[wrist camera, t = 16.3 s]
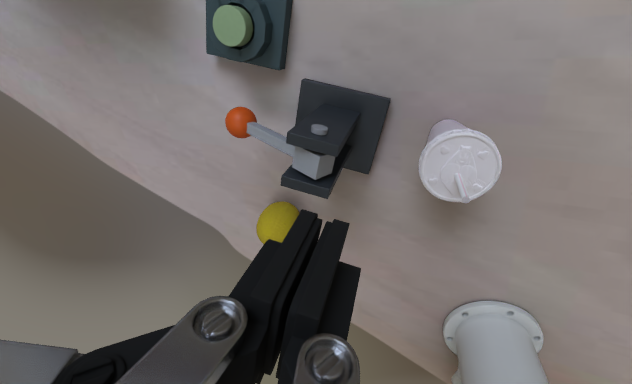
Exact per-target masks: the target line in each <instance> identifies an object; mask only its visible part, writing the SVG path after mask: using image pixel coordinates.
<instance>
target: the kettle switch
mask: <svg viewBox="0 0 632 384" xmlns="http://www.w3.org/2000/svg"><path fill="white" fill-rule="evenodd" d="M225 123H226V127H227V130H228V131H229V132H230V133H231V134H232V135H233V136H235V137H237V138H247V137H249V136H253V137H255V138H257V139H259V140H261V141H263V142H265V143H267V144H269V145H270V146H272V147H274V148H276V149H278V150H280V151H282V152H284V153H286V154H288V155H290V156H291V157H293V163H292V168H294V169H296V170H298V171H300V172H302V173H303V174H305V175H307V176H309V177H311V178H313V179H314V180H317V179H319V178H321V177H324V176H326V175H328V174H331V173H332V169H333V165H334V160H335V157H334V156H331V155H327V154H323V153H319V152H316V151H312V150H308V149H305V148H301V147H297V146H294V145H290V144H286V139H287V137H285V136H283V135H281V134H279V133H277V132H275V131H273V130H271V129H268V128H266V127H264V126H262V125H260V124H258V123H257V120H256V117H255V115H254V113H253V112H252V111H251V110H249V109H247V108H245V107H236V108H233V109H232V110H230V111H229V113H228V114H227V116H226V120H225Z"/></svg>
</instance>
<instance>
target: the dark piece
mask: <svg viewBox="0 0 632 384" xmlns="http://www.w3.org/2000/svg"><path fill="white" fill-rule="evenodd" d="M223 5H232V6H238V7H241V8H243V9H244V10H245V11H246V12H247V13H248V14H249V15H250V17H251V20H252V23H253V34H252V37H251V39H250V41H249V42H248V43H247V44H245V45H243V46H236V47H229V46H226V45H224V44H223V43H221V42H220V41H219V40H218V38H217V37H216V35H215V33H214V29H213V17H214V14H215V12H216V10H217V9H218V8H219V7H221V6H223ZM291 8H292V0H206V48H207V54H211V55H215V56H220V57H224V58H227V59H230V60H234V61H238V62H245V63H250V64H254V65H258V66H263V67H267V68H271V69H276V70H282V69H285V61H286V52H287V44H288V35H289V26H290V17H291Z"/></svg>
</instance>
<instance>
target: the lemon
mask: <svg viewBox="0 0 632 384" xmlns="http://www.w3.org/2000/svg"><path fill="white" fill-rule="evenodd" d="M298 215H299V211H298V210H297V208H296V207H295V206H293V205H292V204H290V203H288V202H276V203H273V204H271V205H269V206H268V207H267V208H266V209H265V210H264V211H263V212H262V214H261V215H260V217H259V220H258V223H257V235H258V237H259V239H260V241H261V242H262V243H263V244H265V242H266V241H267V240H268V239H271V240H274V241H278V242H281V243H282V241H283V240H284V238H285V237H286V235H287V233H288V232H289V230H290V228H291V227H292V225H293V223H294V222H295V220H296V218H297V217H298Z"/></svg>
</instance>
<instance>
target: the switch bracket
mask: <svg viewBox="0 0 632 384" xmlns="http://www.w3.org/2000/svg"><path fill="white" fill-rule="evenodd" d="M389 103H390V98H386V97H382V96H378V95H373V94H369V93H365V92H361V91H356V90H352V89H348V88H343V87H339V86H335V85H331V84H326V83H322V82H318V81H314V80H309V79H303V80H302V82H301V89H300V96H299V103H298V110H297V117H296V124H295V126H294V127H293V128H292V129H291V130H290V131H288V132H287V139H286V144H290V145H294V146H297V147H301V148H305V149H308V150H312V151H316V152H319V153H323V154H327V155H331V156H334V157H335V160H334V165H333V169H332V173H331V174H328V175H326V176H324V177H321V178H319V179H317V180H314V179H313V178H311V177H309V176H307V175H305V174H303V173H302V172H300V171H298V170H296V169H294V168H292V165H291V166H290V167H289V168H288V169H287V171H286V172H285V173H284V174H283V175H282V178H281V186H285V187H288V188H291V189H295V190H298V191H302V192H305V193H308V194H312V195H315V196H319V197H322V198H326V199H328V197H329V195H330V193H331V191H332V189H333V187H334V185H335V183H336V181H337V179H338V177H339V175H340V173H341V171H342V169H343V168H346V169H350V170H354V171H357V172H361V173H365V174H369V171H370V168H371V165H372V161H373V158H374V154H375V151H376V147H377V144H378V141H379V137H380V134H381V130H382V127H383V123H384V120H385V117H386V113H387V110H388V106H389Z"/></svg>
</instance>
